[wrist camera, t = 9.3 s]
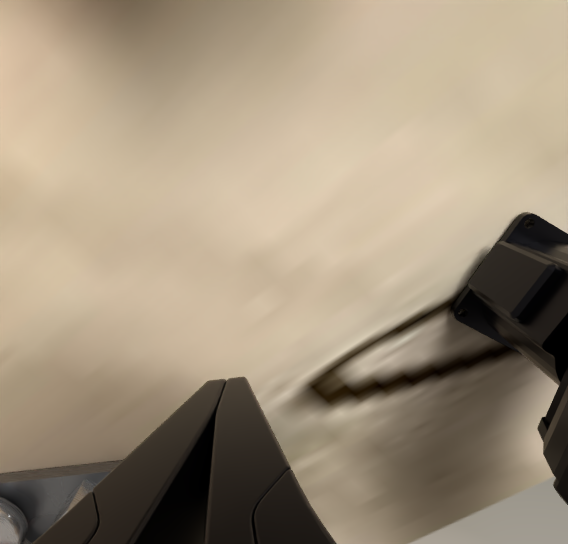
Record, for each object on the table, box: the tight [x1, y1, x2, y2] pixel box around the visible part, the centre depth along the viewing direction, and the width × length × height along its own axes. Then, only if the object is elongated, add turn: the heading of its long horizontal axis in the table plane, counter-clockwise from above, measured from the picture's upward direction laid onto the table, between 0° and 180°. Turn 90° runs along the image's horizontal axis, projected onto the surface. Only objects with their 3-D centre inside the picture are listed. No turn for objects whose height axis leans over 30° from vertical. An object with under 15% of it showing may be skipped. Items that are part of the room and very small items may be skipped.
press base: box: [0, 460, 123, 543], centre depth 24 cm, size 11×17×3 cm
